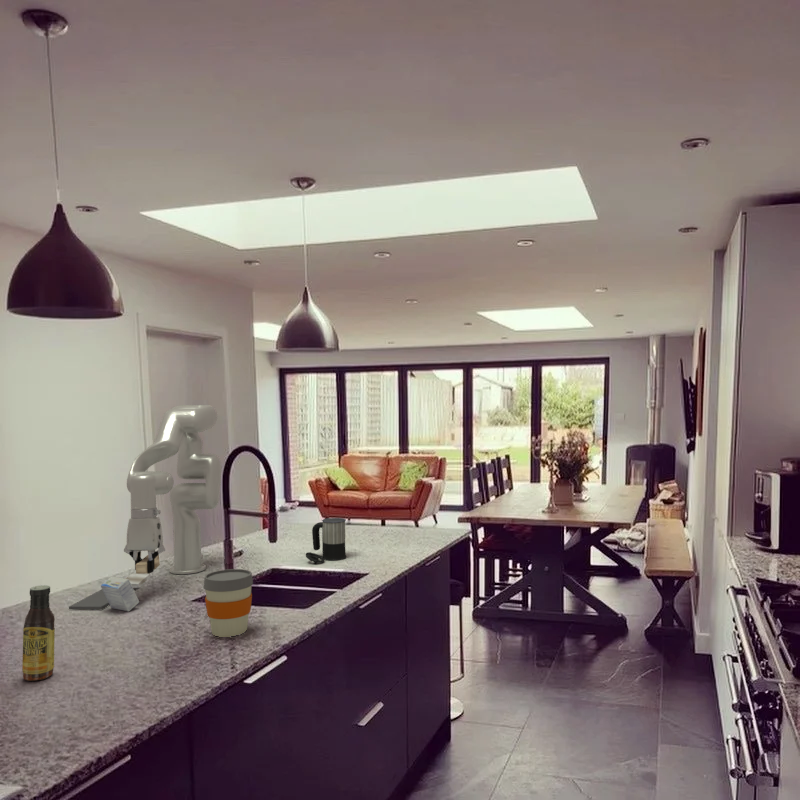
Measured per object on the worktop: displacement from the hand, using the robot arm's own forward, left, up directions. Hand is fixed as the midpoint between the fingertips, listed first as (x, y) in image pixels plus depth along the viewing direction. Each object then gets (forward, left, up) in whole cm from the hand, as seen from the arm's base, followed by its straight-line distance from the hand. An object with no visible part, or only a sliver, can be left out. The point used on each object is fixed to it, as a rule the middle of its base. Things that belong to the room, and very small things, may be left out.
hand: (144, 571), depth 212 cm
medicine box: (+12, 0, -7) cm, 14 cm away
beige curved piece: (+2, 0, -1) cm, 2 cm away
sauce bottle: (+61, +5, -8) cm, 62 cm away
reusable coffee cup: (+31, +38, -8) cm, 50 cm away
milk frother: (-49, +48, -8) cm, 69 cm away
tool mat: (+1, -12, -8) cm, 14 cm away
